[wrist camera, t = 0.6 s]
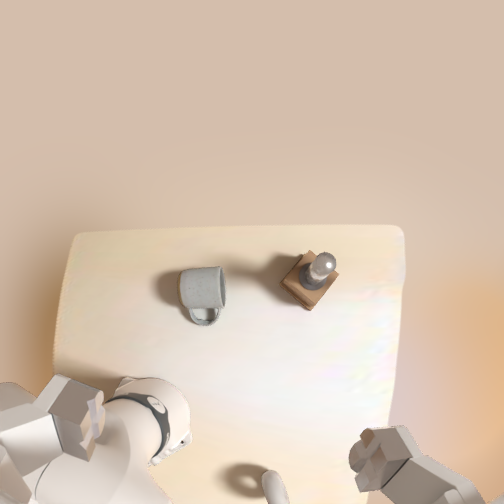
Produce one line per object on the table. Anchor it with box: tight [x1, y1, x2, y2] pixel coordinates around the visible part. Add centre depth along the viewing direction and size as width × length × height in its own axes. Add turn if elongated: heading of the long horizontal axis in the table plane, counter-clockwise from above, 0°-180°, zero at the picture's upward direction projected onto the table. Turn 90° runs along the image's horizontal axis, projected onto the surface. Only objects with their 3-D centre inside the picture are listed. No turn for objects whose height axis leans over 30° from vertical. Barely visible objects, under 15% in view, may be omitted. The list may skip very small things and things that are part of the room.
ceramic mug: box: [177, 266, 226, 326], centre depth 54 cm, size 11×8×8 cm
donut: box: [261, 470, 290, 504], centre depth 43 cm, size 10×4×10 cm, turn 19°
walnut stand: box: [279, 250, 339, 311], centre depth 55 cm, size 8×8×6 cm
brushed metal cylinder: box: [304, 252, 336, 285], centre depth 48 cm, size 3×3×10 cm
